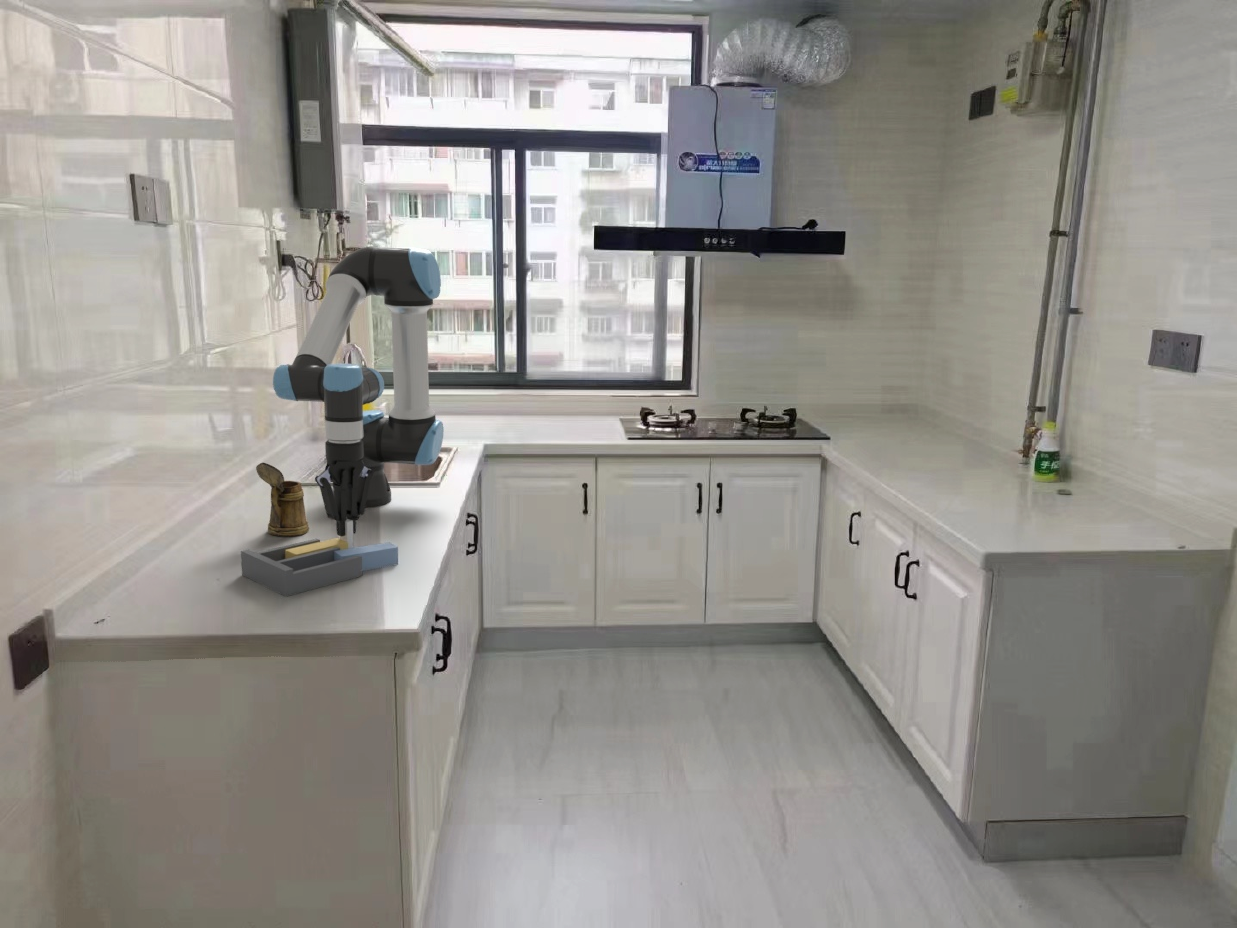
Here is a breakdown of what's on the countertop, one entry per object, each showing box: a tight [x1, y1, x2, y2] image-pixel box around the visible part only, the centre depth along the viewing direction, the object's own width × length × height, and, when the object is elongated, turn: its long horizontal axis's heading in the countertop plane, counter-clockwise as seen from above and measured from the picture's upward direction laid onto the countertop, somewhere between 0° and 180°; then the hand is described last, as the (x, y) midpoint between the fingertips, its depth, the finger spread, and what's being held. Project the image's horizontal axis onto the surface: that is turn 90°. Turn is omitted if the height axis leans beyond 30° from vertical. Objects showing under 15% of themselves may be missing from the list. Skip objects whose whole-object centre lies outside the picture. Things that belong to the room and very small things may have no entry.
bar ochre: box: [285, 537, 348, 559], centre depth 185 cm, size 12×4×4 cm, turn 141°
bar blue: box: [334, 541, 399, 572], centre depth 185 cm, size 12×4×4 cm, turn 128°
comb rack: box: [240, 538, 363, 597], centre depth 178 cm, size 17×16×5 cm
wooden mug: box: [255, 462, 310, 538], centre depth 202 cm, size 9×14×18 cm, turn 168°
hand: (346, 549), depth 190 cm, fingers closed
